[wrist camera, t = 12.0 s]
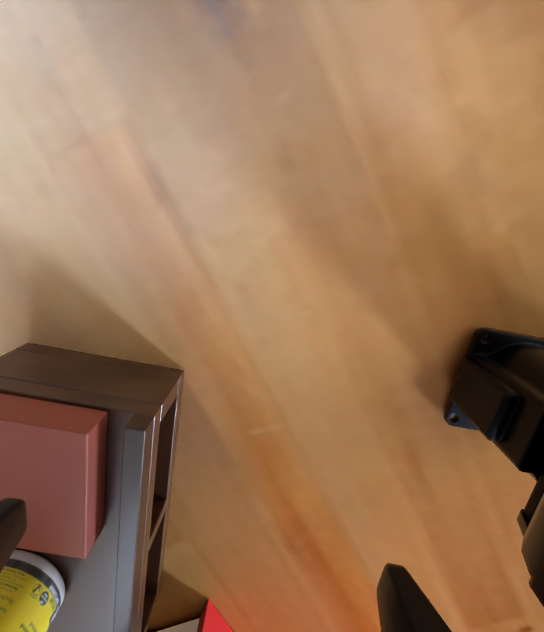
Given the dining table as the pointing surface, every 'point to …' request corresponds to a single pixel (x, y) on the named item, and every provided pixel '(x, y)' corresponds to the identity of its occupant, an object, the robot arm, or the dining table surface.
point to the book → (203, 622)
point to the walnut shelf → (112, 479)
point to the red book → (54, 472)
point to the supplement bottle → (29, 593)
